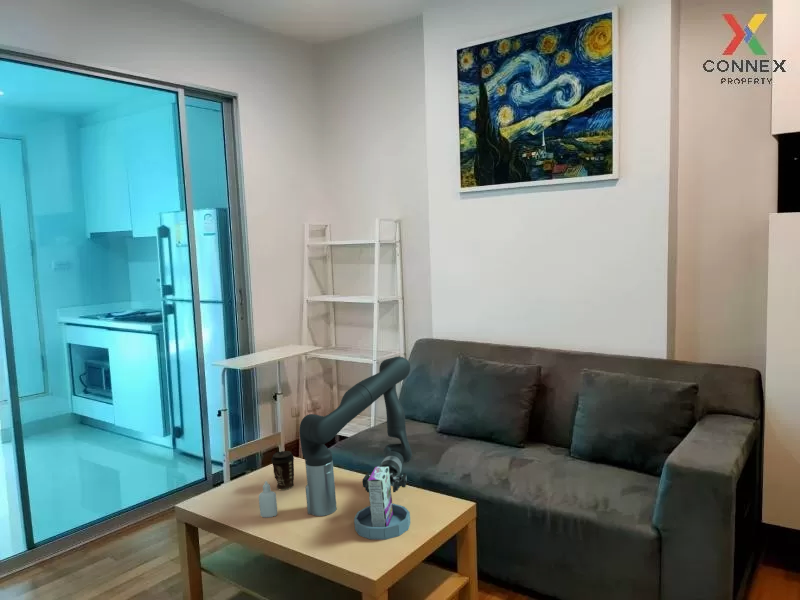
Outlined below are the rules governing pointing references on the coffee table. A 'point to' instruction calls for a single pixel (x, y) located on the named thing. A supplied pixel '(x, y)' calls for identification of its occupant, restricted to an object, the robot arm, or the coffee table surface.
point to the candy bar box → (380, 497)
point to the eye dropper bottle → (267, 502)
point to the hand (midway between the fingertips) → (380, 489)
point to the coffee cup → (283, 469)
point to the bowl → (394, 529)
